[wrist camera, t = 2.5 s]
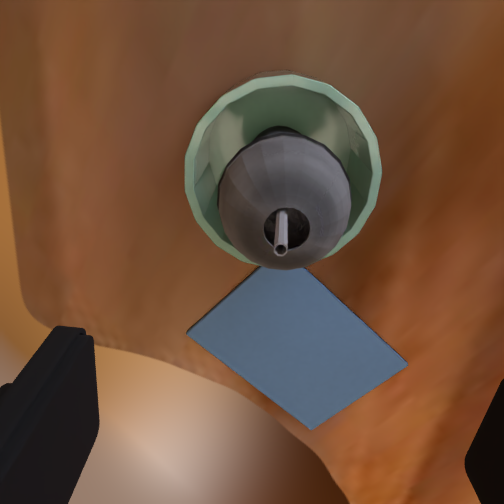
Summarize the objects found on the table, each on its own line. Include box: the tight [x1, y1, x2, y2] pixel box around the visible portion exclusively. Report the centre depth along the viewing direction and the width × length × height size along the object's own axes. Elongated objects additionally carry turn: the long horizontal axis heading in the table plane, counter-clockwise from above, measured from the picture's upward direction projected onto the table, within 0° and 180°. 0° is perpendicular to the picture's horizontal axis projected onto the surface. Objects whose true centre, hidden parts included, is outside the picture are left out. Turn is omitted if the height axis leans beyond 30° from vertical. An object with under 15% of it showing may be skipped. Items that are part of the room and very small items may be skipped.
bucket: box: [185, 70, 382, 266], centre depth 30 cm, size 12×12×8 cm
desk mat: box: [186, 266, 408, 430], centre depth 41 cm, size 18×13×1 cm
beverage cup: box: [217, 126, 352, 271], centre depth 24 cm, size 7×7×20 cm
